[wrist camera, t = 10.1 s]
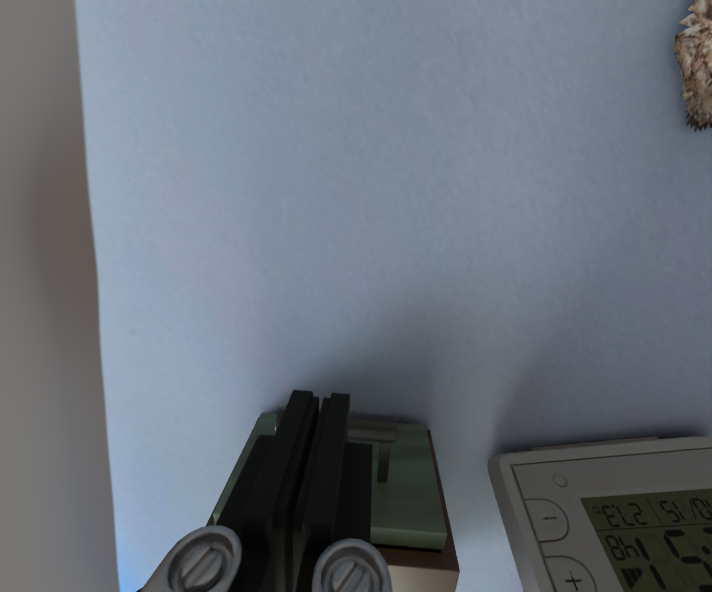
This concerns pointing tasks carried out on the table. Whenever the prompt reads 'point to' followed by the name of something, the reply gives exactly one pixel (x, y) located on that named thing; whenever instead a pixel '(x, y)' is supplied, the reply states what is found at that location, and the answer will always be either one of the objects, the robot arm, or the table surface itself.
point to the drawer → (383, 480)
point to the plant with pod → (697, 63)
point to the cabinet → (416, 555)
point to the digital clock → (609, 514)
